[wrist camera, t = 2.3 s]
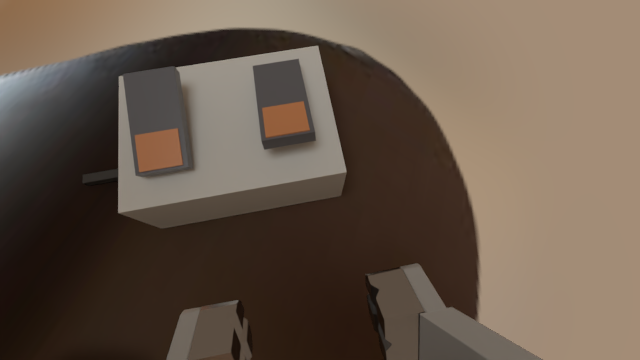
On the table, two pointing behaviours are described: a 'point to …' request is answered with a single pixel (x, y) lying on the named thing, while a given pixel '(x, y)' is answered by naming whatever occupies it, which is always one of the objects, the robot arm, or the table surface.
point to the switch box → (232, 149)
